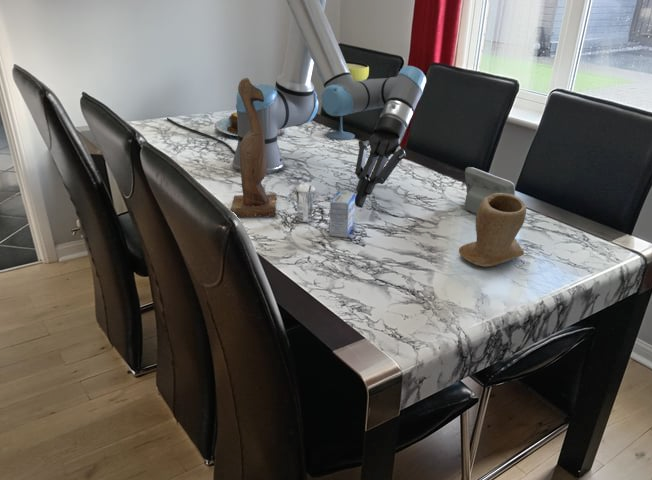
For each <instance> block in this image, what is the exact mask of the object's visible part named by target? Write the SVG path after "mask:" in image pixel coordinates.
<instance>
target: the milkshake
mask: <svg viewBox="0 0 652 480" xmlns="http://www.w3.org/2000/svg"><path fill="white" fill-rule="evenodd" d="M315 191H316V189H315V187H314V186H313V184H310V183H301V184H298V185H297V186H295V195H296V196H295V197H296V208H297V209H296V210H297V220H298V221H299V222H300V223H309V222H312V218H313V208H314V199H315Z"/></svg>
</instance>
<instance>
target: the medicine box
mask: <svg viewBox="0 0 652 480" xmlns="http://www.w3.org/2000/svg"><path fill="white" fill-rule="evenodd" d="M355 197H356V193H355V192H352V191H345V190H338V191H337V192H336V193H335V195H334V197H333V198H332V200H331V201H330V203H329V236H330V237H338V238H345V239H348V237H349V235H350V233H351V232H352V229H353V227H354V225H355V207H356V205H355Z"/></svg>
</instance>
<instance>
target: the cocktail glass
mask: <svg viewBox="0 0 652 480" xmlns="http://www.w3.org/2000/svg"><path fill="white" fill-rule="evenodd" d="M345 62H346V64H347V67H348V69H349V71H350V74H351V76H352V78H353V80H354V82H357V81H361V80H365V79H369V78H368V77H369V76H370V75H369V74H370V67H369V65H368V64H366V63H362V62H358V61H349V60H345ZM317 74H318V73H317ZM318 76H319V74H318ZM343 129H344V128H343V116H339V127H338V130H336V131H335V130H333V131H328V132H326V133H325V136H326V137H327V138H329V139H333V140H340V141H342V140H343V141H345V140H353V139H354V138H355V137H356V135H355V134H354V133H352V132H349V131H344V130H343Z"/></svg>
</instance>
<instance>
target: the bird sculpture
mask: <svg viewBox="0 0 652 480" xmlns="http://www.w3.org/2000/svg"><path fill="white" fill-rule="evenodd" d="M254 85H255V84H252V83H251V80H250V79H249V78H248V77H245V78H242V79H240V81H239V83H238V86H237V91H238V92H239V94H240V96H241V98H242V101H243V103H244V106H245V109H246V112H247V115H248V119H249V122H250V128H251V130H250V131H249V132H248V133H247V134H246V136H245V137H244V138H243V140H242V141H241V144H240V169H241V172H240V178H241V188H242V194H240V195H238V194H237V195H236V194H235V195H233V199H232V204H231V207H230V212H231V211H232V212H234V213H235V214H236V215H237V218H238V217H239V218H243V219H244V218H245V217H246V218H247V217H248V218H252V217H253V218H264V217H265V218H267V217H276V215H277V212H276V211H277V210H276V209H277V201H278V195H277V193H276V194H275V193H273V194H267V192H266V191H265V189H264V186H263V184H262V181H263V180H264V179H265V177H266V175H267V174H266V155H265V153H266V152H265V151H266V150H265V138H264V131H263V127H262V124H261V121H260V119H259V116H258V114H257V112H256V109H255V107H254V104H253V101H260V102H264V97H263V93H262V91H261V90H260V89H258V88H256V87H255V86H254ZM238 92H237V93H238Z"/></svg>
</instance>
